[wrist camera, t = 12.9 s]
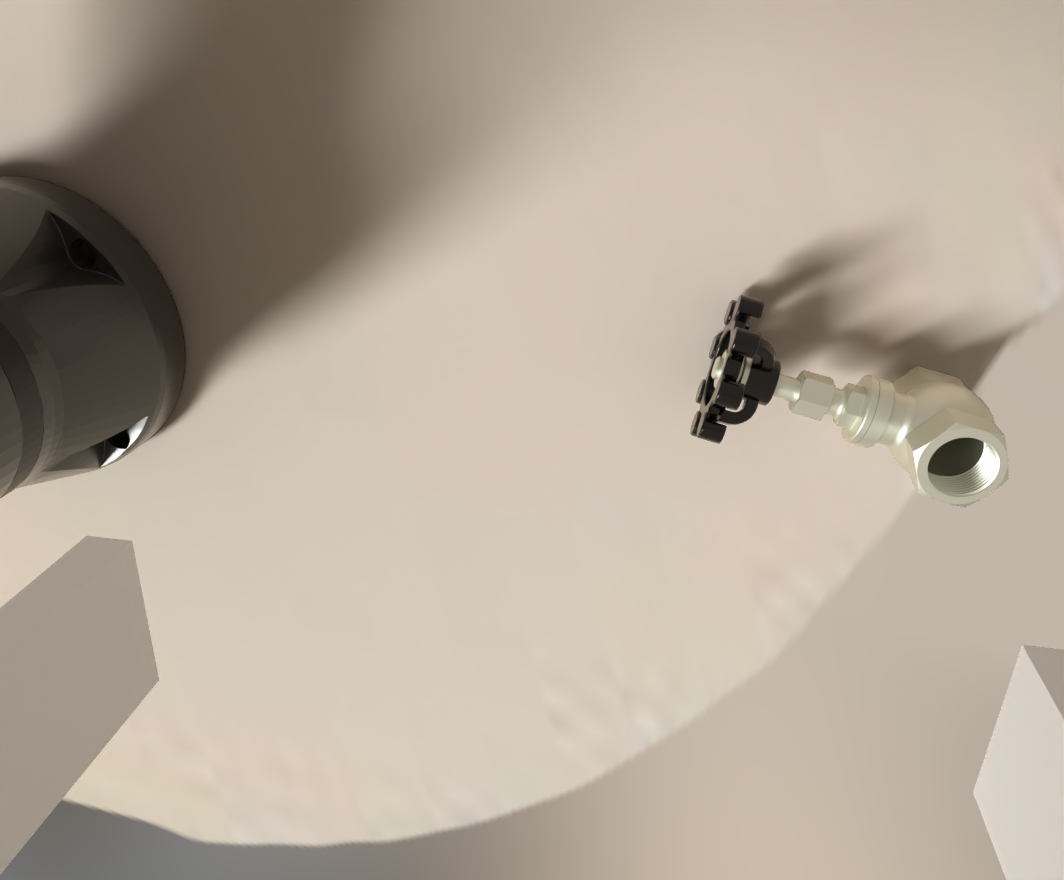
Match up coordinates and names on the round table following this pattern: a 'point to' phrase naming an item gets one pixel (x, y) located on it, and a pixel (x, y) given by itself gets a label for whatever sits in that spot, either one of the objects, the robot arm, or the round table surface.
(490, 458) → the round table surface
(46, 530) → the round table surface
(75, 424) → the robot arm
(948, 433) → the valve
